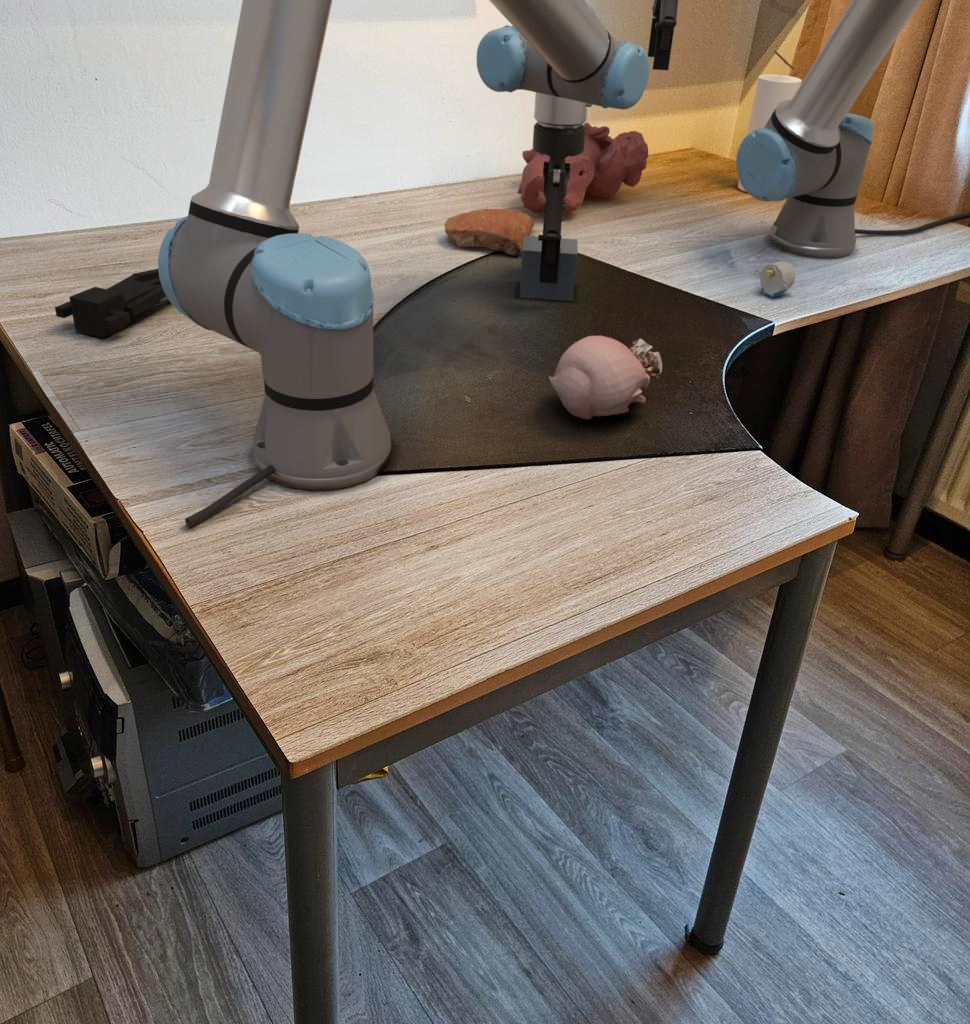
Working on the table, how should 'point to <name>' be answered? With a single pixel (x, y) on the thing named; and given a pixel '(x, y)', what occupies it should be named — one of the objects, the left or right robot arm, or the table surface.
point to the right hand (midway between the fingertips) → (657, 63)
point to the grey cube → (531, 271)
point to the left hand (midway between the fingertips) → (549, 266)
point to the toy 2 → (604, 376)
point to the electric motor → (776, 278)
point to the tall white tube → (771, 95)
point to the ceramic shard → (490, 229)
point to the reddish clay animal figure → (588, 169)
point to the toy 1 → (113, 304)
